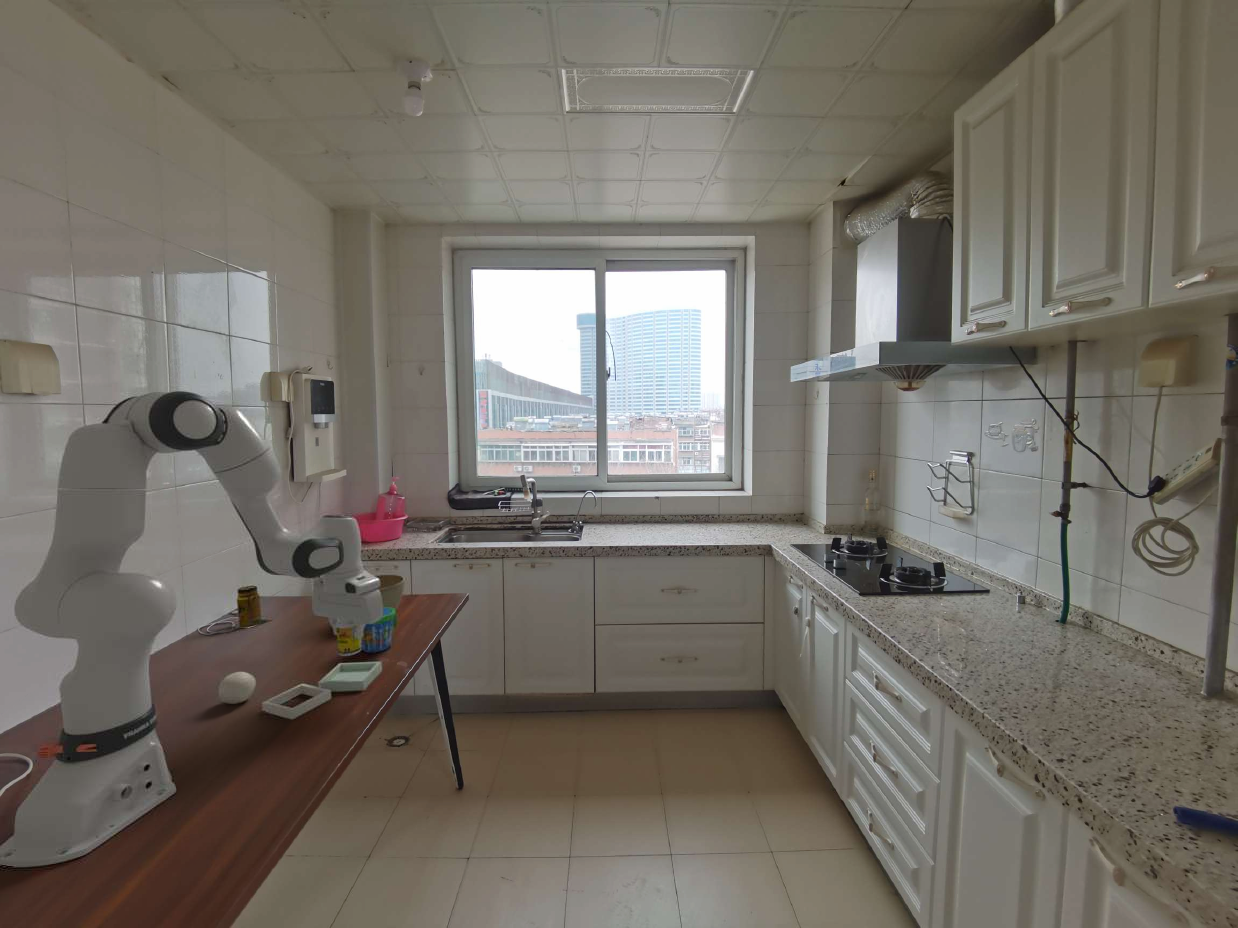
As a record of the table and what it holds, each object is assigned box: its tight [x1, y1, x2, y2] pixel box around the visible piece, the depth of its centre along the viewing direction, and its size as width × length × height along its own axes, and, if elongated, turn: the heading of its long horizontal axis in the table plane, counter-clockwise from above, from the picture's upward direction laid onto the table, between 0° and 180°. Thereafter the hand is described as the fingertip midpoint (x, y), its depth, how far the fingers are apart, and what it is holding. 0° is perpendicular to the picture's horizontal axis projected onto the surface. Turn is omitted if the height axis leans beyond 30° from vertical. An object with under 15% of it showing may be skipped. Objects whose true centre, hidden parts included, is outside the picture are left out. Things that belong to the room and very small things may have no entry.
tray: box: [317, 661, 383, 693], centre depth 137 cm, size 11×11×2 cm
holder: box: [261, 683, 332, 720], centre depth 126 cm, size 10×10×2 cm
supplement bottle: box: [336, 618, 363, 657], centre depth 137 cm, size 5×5×10 cm
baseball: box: [217, 671, 257, 705], centre depth 129 cm, size 7×7×7 cm
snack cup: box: [361, 607, 399, 653], centre depth 157 cm, size 16×10×10 cm
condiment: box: [233, 585, 273, 629], centre depth 181 cm, size 7×8×12 cm
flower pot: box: [374, 574, 405, 612], centre depth 181 cm, size 18×18×12 cm
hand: (348, 635), depth 137 cm, fingers closed on supplement bottle, 5 cm apart
